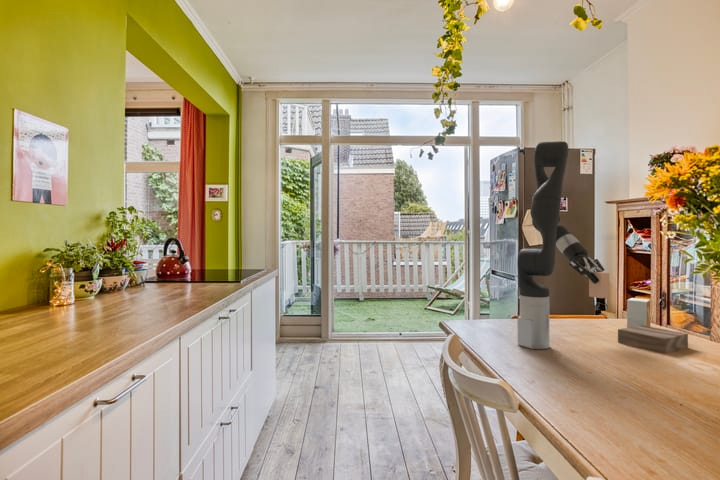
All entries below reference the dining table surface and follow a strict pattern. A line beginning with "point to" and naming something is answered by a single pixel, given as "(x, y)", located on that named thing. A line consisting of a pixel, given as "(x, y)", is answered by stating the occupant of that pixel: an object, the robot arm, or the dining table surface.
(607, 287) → the terracotta block
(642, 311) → the small box
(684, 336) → the walnut block
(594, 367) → the dining table surface
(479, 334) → the dining table surface
